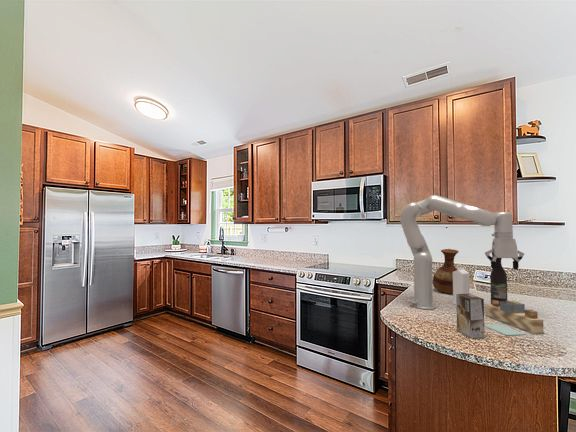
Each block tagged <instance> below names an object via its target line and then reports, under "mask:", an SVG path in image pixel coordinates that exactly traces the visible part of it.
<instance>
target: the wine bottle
mask: <svg viewBox="0 0 576 432" xmlns="http://www.w3.org/2000/svg"><path fill="white" fill-rule="evenodd" d="M502 259H503V258H497V259H496V260H495V261H496V269H492V268H491V272H490V278H489V279H490V280H489V281H490V304H492V300H497V301H499V306H500V301H509V300H508V275H507V272H506V270H505V269H504V267H503V265H502Z"/></svg>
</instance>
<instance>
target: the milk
mask: <svg viewBox="0 0 576 432" xmlns="http://www.w3.org/2000/svg"><path fill="white" fill-rule="evenodd" d="M456 268H457V270H456V271H454V272H453V294H452V296H453V297H452V300H453V301H452V302H453V303H452V304H453V305H455V306H457V305H456V294H470V273H469V271H468V270H465V266H458V267H456Z"/></svg>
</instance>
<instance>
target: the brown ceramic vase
mask: <svg viewBox="0 0 576 432" xmlns="http://www.w3.org/2000/svg"><path fill="white" fill-rule="evenodd" d="M440 252H441V253H442V254H443V255H444V262H443V264H442V266H440V267H438V269H436V271H435V272H434V274H433V276H432V283H433V289H435V290H437V291H440V292H442V293H446V294H452V295H453V272H454V271H456V270H457V268H458V267H456V266H455V257H456V255H457V254H458V253H459V250H457V249H451V248H446V249H440Z"/></svg>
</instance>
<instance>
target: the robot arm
mask: <svg viewBox="0 0 576 432" xmlns="http://www.w3.org/2000/svg"><path fill="white" fill-rule="evenodd" d="M434 211H436V212H437V213H442V214H444V215H446V216H447V215H448V216H449V217H453V218H456V219H463V220H467V221H469V222H470V221H471V222H473V223H476V224H478V225H479V226H481V227H491V226H493V227H494V231H493V233H491V237H494V238H493V239H492V243H491V249H490V250H488V251H485V252H484V255H485V256H486V258H487V259H488V260H489V261H490V267H491V270H492V269H496V261H495V260H496V259H497V258H502V259H512V260H513V261H512V269H513V270H517V271H518V270H519V267H520V265H519V263H520V261H521V260H522V259H523V258H524V255H525V253H524V252H522V251H520V250H518V246H517V245H518V244H517V241H516V238H514V233H513V232H514V231H513V230H514V229H513V228H514V227H513V213H512V212H510V211H496V212H492V211H490V210H487V209H483V208H479V207H476V206H473V205H469V204H466V203H462V202H460V201H457V200H453V199H452V198H451V199H449V198H447V197H444V196H441V195H438V194H431V195H429V196H428V197H426V198H425V199H423V200H419V201H417V202H415V201H414V202H410V203H408V204H407V205H406V206H404V208H403V209H402V210H401V212H400V213H401V214H400V216H399V217H400V218H399V219H400V226H401V228H402V230H403V233H404V236H405V240H406V242H407V246H408V247H409V248H410V251H411V253H412V255H413V278H414V279H413V282H414V283H413V286H414V287H413V288H414V289H413V290H414V291H413V295H414V297H412V298H411V299H406V301H405V302H406V303H407V304H410V305H411V306H412V307H414V308H416V309H417V308H418V309H422V310H435V309H437V305H436V304H435V303H434V295H433V289H434V286H433V256H432V253H431V251H430V249H429V247H428V244H427V242H426V238H425V237H424V235H423V234H422V233H421V230H420V227H419V225H418V222H417V218H418V217H421V216H423V215H427V214H429V213H432V212H434ZM490 254H491V255H490Z"/></svg>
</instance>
